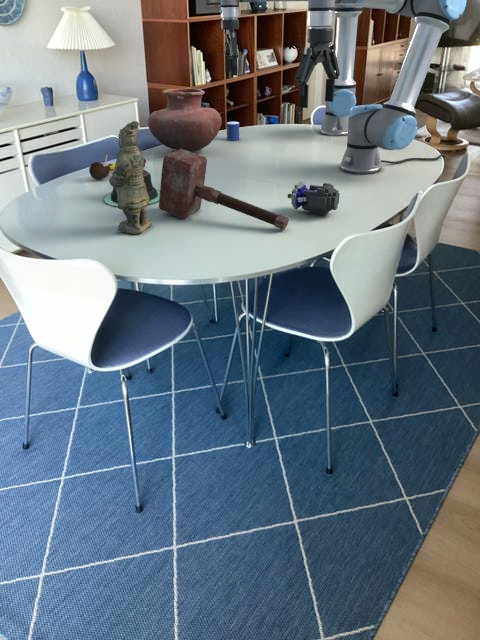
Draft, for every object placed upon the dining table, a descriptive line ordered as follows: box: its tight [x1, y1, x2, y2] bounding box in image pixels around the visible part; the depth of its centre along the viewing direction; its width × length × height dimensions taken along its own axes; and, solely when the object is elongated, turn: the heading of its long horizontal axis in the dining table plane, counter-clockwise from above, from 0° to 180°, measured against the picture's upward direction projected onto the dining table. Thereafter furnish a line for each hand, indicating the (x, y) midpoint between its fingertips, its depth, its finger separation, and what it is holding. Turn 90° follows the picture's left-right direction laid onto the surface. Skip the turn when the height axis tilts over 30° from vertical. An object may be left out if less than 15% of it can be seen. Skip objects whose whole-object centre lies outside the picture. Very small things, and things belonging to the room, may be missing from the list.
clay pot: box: [147, 87, 223, 153], centre depth 235 cm, size 30×30×25 cm
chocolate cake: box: [103, 168, 160, 207], centre depth 186 cm, size 15×19×20 cm
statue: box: [108, 120, 153, 235], centre depth 154 cm, size 11×9×30 cm
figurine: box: [88, 154, 147, 181], centre depth 212 cm, size 13×8×25 cm
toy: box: [287, 180, 341, 216], centre depth 168 cm, size 9×9×15 cm
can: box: [226, 121, 240, 142], centre depth 257 cm, size 6×6×8 cm
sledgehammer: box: [158, 149, 290, 231], centre depth 163 cm, size 17×10×40 cm
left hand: (231, 73), depth 245 cm, fingers open, 13 cm apart
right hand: (316, 104), depth 173 cm, fingers open, 13 cm apart
